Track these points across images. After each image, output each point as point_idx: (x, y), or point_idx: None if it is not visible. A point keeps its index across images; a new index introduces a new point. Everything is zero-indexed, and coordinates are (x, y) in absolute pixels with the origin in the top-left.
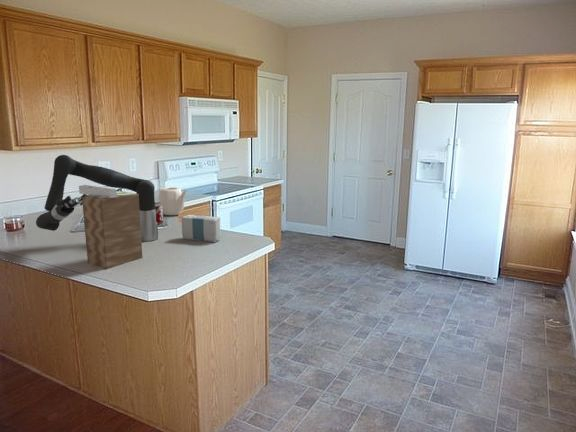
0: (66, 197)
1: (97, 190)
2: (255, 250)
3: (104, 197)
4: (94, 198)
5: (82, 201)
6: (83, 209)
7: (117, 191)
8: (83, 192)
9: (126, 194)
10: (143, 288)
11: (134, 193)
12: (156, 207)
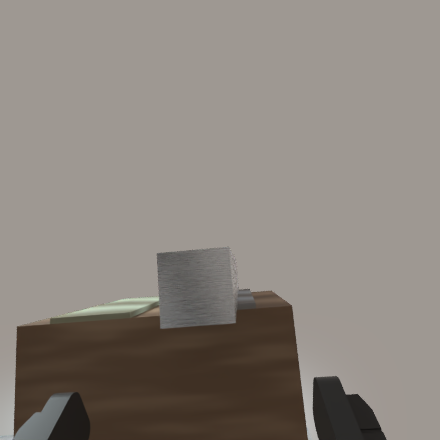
0: (368, 407)
1: (235, 267)
2: (12, 435)
3: (242, 291)
4: (271, 295)
5: (295, 337)
6: (301, 393)
7: (66, 314)
8: (235, 300)
9: (148, 297)
10: (307, 434)
11: (94, 306)
12: None
